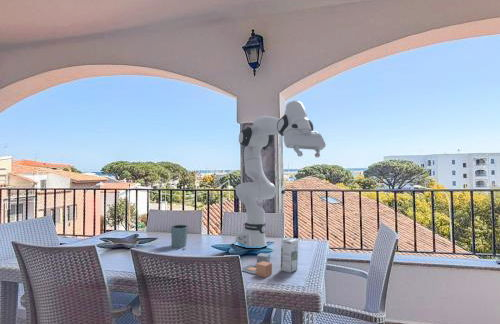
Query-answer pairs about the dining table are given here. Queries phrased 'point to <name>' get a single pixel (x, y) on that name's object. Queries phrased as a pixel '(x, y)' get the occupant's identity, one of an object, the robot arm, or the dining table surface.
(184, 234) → the green cup
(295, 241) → the syrup box
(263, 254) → the grey block
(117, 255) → the dining table surface
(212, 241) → the dining table surface
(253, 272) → the board
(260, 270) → the terracotta block
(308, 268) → the dining table surface
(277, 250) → the dining table surface
